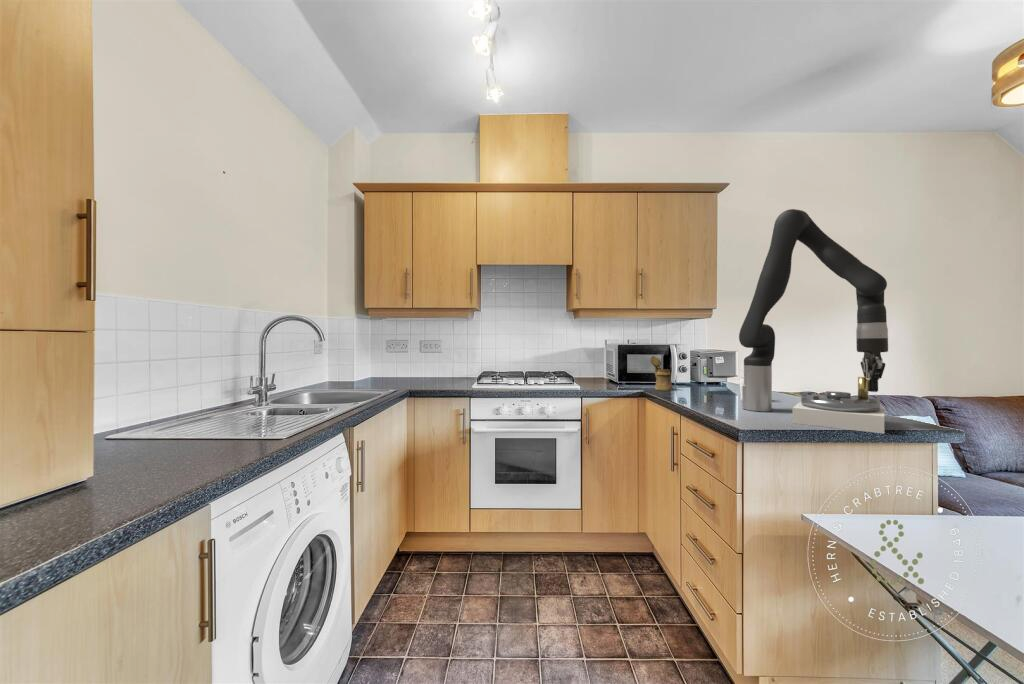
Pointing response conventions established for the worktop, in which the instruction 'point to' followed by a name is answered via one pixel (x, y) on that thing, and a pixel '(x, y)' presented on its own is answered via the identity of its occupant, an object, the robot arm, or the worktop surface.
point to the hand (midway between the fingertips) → (872, 391)
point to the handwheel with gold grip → (843, 400)
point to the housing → (840, 418)
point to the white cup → (741, 385)
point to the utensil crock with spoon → (661, 376)
